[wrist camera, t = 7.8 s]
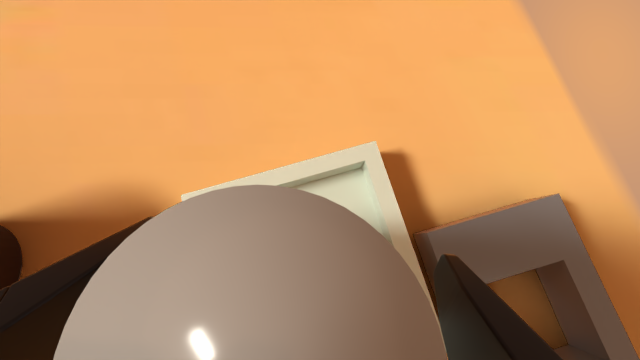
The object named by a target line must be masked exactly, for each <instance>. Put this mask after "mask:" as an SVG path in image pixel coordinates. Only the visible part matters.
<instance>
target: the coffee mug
mask: <svg viewBox="0 0 640 360" xmlns="http://www.w3.org/2000/svg"><path fill="white" fill-rule="evenodd" d="M21 269H22V253H21V248H20V245H19V243H18V241H17V239H16V238H15V236H14V235H13V234H12V233H11V232H10V231H9V230H8V229H6V228H5V227H3V226H0V290H1V289H3V288H5V287H7V286H11V285H12V284H13V283H15V282H17V281H18V280H19V278H20V274H21Z"/></svg>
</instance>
